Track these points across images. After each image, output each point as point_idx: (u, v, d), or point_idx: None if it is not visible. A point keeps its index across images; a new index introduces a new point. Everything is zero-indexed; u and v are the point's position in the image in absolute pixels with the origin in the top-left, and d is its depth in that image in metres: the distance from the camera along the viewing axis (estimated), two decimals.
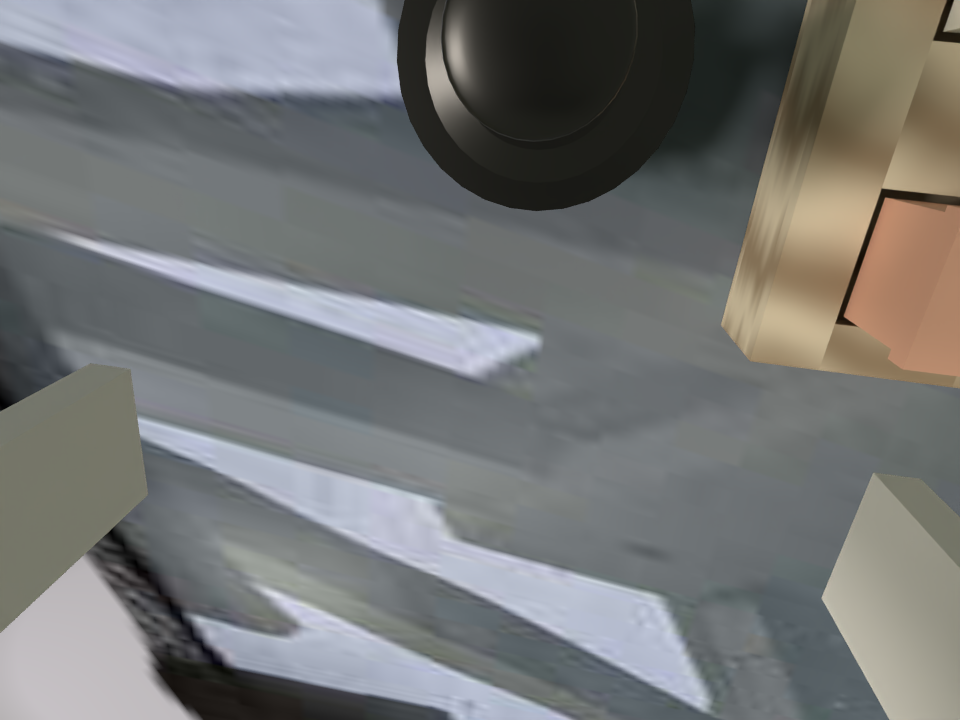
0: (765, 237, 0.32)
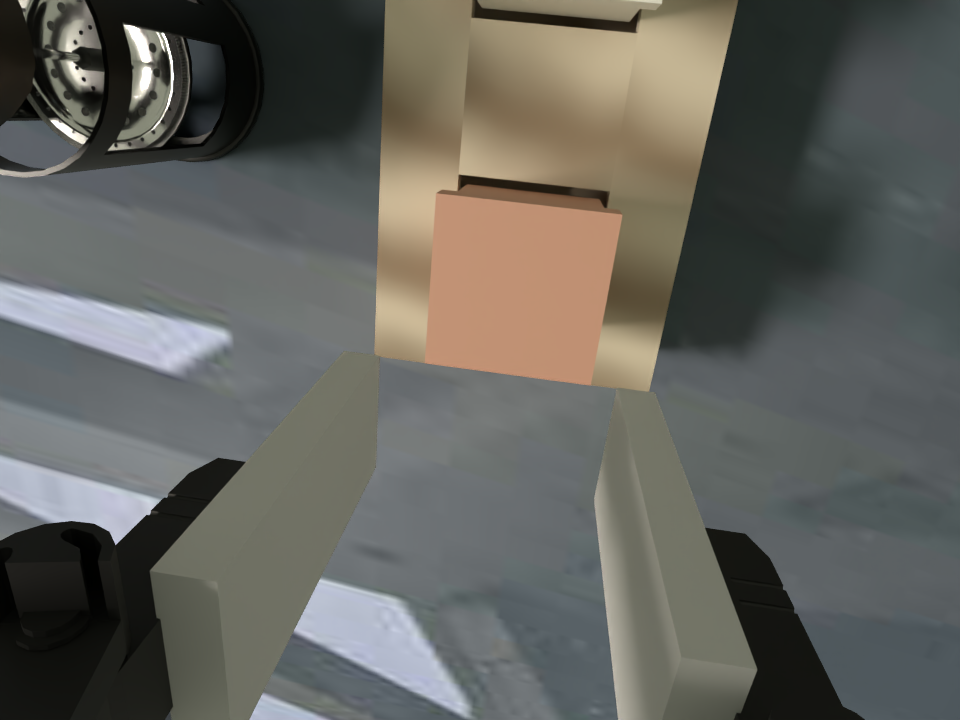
0: None
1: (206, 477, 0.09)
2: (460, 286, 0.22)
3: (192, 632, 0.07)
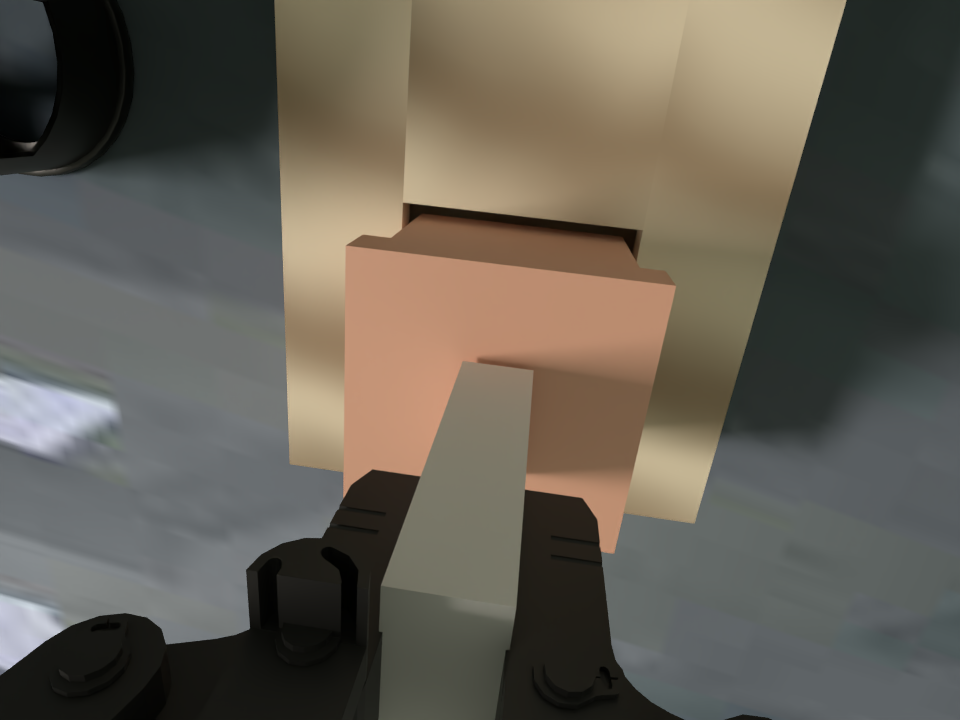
0: None
1: (368, 488, 0.09)
2: (395, 397, 0.13)
3: (412, 645, 0.07)
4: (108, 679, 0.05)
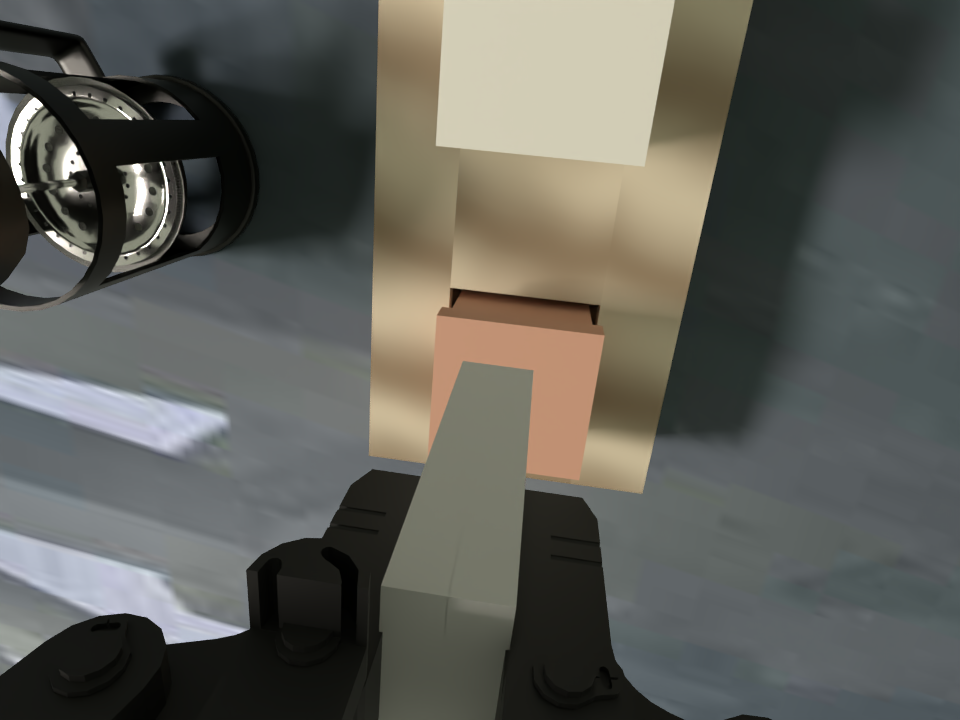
0: None
1: (369, 489, 0.09)
2: None
3: (412, 646, 0.07)
4: (108, 679, 0.05)
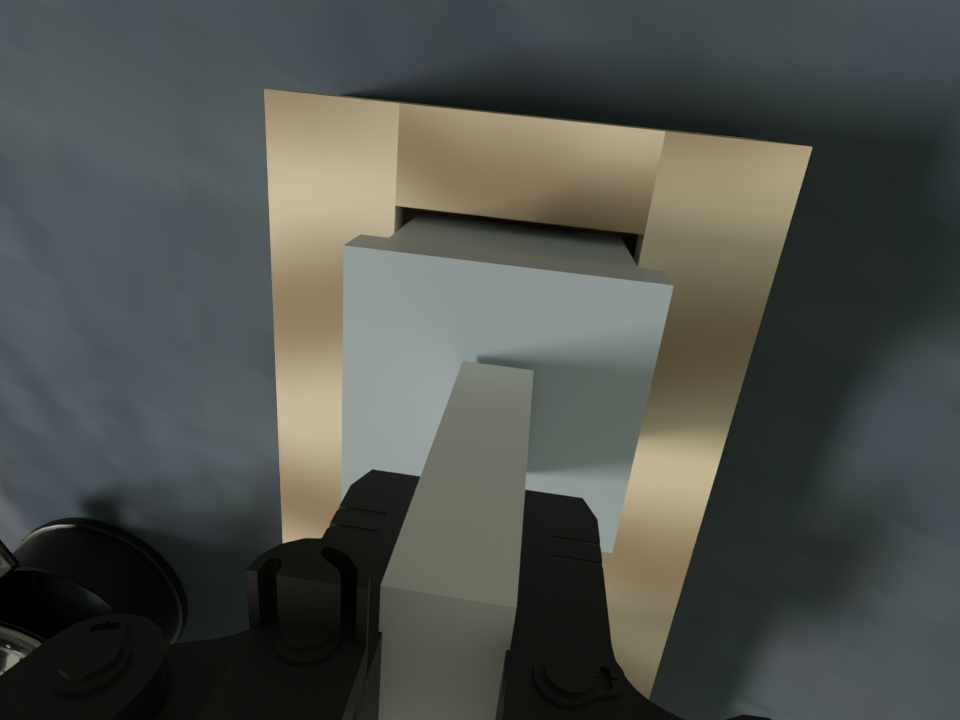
0: None
1: (368, 488, 0.09)
2: None
3: (411, 646, 0.07)
4: (108, 679, 0.05)
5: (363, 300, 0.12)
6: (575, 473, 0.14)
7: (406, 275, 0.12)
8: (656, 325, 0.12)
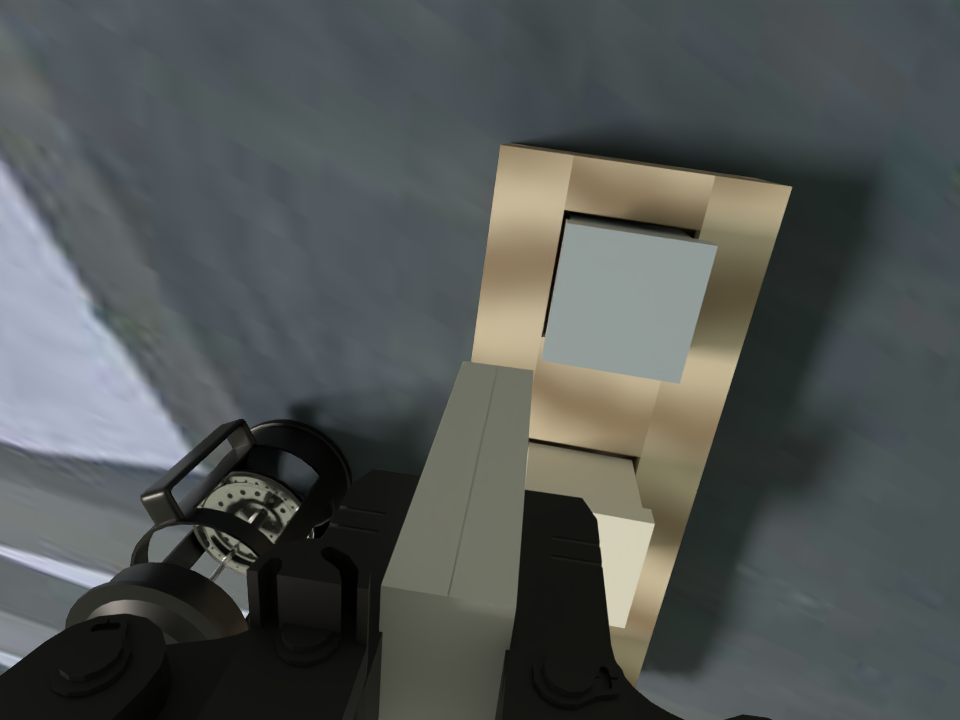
0: None
1: (369, 489, 0.09)
2: None
3: (412, 646, 0.07)
4: (108, 679, 0.05)
5: (572, 249, 0.27)
6: (664, 339, 0.28)
7: (594, 238, 0.26)
8: (708, 264, 0.26)
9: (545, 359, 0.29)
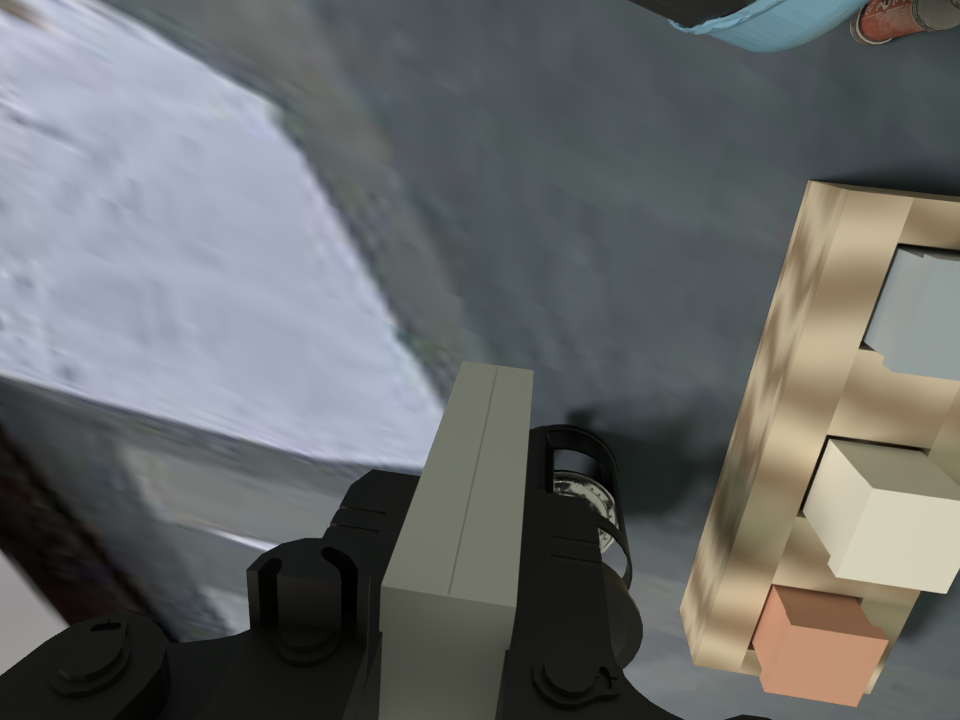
0: (704, 583, 0.49)
1: (369, 488, 0.09)
2: (794, 661, 0.43)
3: (412, 646, 0.07)
4: (108, 679, 0.05)
5: (938, 280, 0.32)
6: None
7: None
8: None
9: (895, 370, 0.34)
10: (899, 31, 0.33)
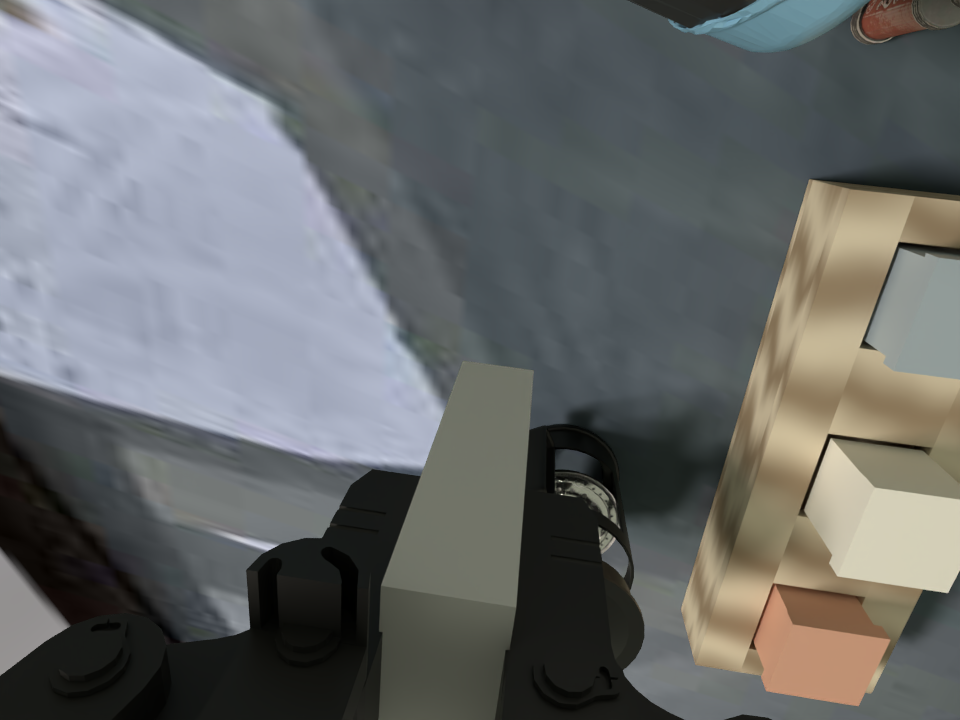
0: (705, 583, 0.49)
1: (368, 488, 0.09)
2: (795, 661, 0.43)
3: (412, 646, 0.07)
4: (108, 679, 0.05)
5: (939, 278, 0.32)
6: None
7: None
8: None
9: (897, 369, 0.34)
10: (900, 30, 0.33)
